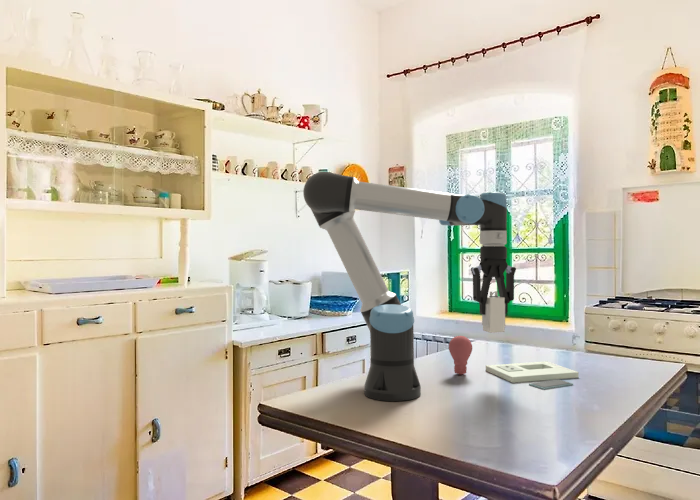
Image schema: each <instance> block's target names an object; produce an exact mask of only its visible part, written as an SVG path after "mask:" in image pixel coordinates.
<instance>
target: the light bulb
mask: <svg viewBox="0 0 700 500" xmlns="http://www.w3.org/2000/svg"><path fill="white" fill-rule="evenodd" d="M448 351H449V353H450V356H451V358H452V359H453V364H454V366H453V371H454V373H455V374H458V375H459V376H460V375H464V374H467V365H468V360H469V358H470V357H471V354H472V351H473V344H472V342H471V341H470V339H469V338H468V337H466V336H464V335H456V336H454V337H453V338H452V339H450V340H449V343H448Z"/></svg>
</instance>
